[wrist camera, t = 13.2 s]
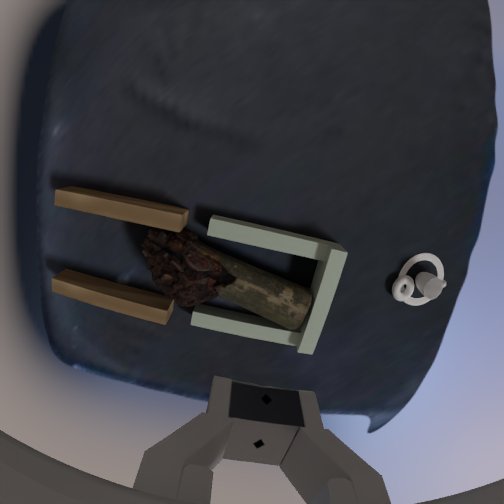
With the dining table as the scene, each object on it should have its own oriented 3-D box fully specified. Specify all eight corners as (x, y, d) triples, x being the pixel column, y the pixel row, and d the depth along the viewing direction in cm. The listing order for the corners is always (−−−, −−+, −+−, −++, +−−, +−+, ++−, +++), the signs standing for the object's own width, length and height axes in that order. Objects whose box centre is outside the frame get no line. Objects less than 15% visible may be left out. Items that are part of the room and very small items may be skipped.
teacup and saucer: (383, 298, 42) (394, 310, 38) (402, 244, 40) (415, 253, 36) (430, 307, 43) (442, 319, 39) (449, 258, 41) (463, 267, 37)
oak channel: (71, 186, 38) (55, 189, 34) (189, 209, 38) (182, 215, 35) (65, 281, 41) (52, 291, 38) (172, 310, 42) (165, 324, 38)
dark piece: (309, 282, 41) (318, 305, 35) (280, 330, 43) (283, 358, 37) (161, 211, 39) (144, 222, 32) (140, 265, 41) (121, 284, 34)
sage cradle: (213, 214, 39) (208, 220, 35) (339, 243, 40) (347, 252, 36) (194, 315, 43) (188, 330, 39) (308, 338, 43) (312, 354, 40)
